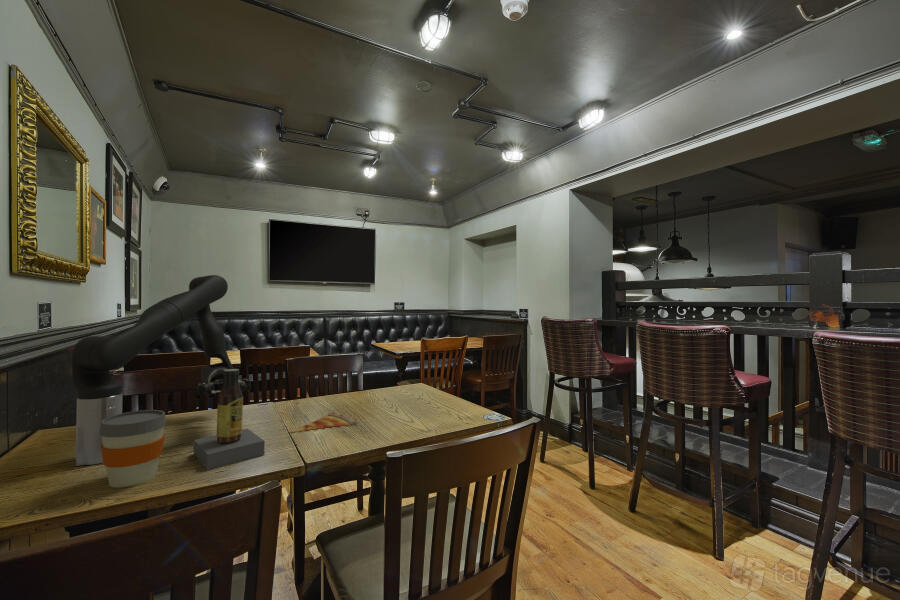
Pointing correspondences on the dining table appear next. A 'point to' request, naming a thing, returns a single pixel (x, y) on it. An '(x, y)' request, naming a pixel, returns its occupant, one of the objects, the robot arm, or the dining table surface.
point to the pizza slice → (328, 422)
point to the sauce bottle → (230, 408)
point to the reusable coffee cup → (132, 446)
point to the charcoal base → (228, 450)
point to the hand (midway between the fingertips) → (226, 390)
